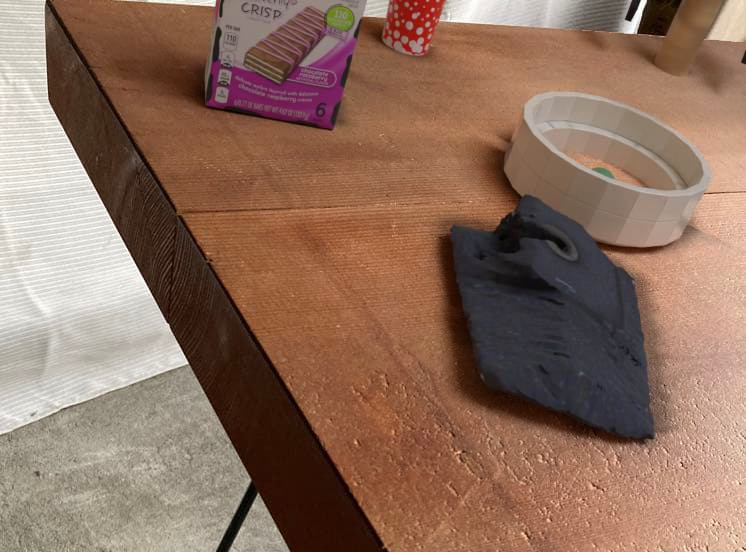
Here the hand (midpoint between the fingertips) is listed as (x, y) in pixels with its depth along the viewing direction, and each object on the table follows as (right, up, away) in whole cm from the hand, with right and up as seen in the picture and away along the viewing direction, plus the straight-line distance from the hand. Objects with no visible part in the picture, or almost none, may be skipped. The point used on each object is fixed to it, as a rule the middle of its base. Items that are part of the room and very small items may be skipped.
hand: (689, 36), depth 106 cm
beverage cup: (-31, -6, -8) cm, 33 cm away
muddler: (-1, -2, +6) cm, 6 cm away
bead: (-16, -24, -23) cm, 37 cm away
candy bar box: (-43, -18, -23) cm, 52 cm away
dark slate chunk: (-23, -39, -35) cm, 58 cm away
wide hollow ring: (-16, -24, -20) cm, 35 cm away
